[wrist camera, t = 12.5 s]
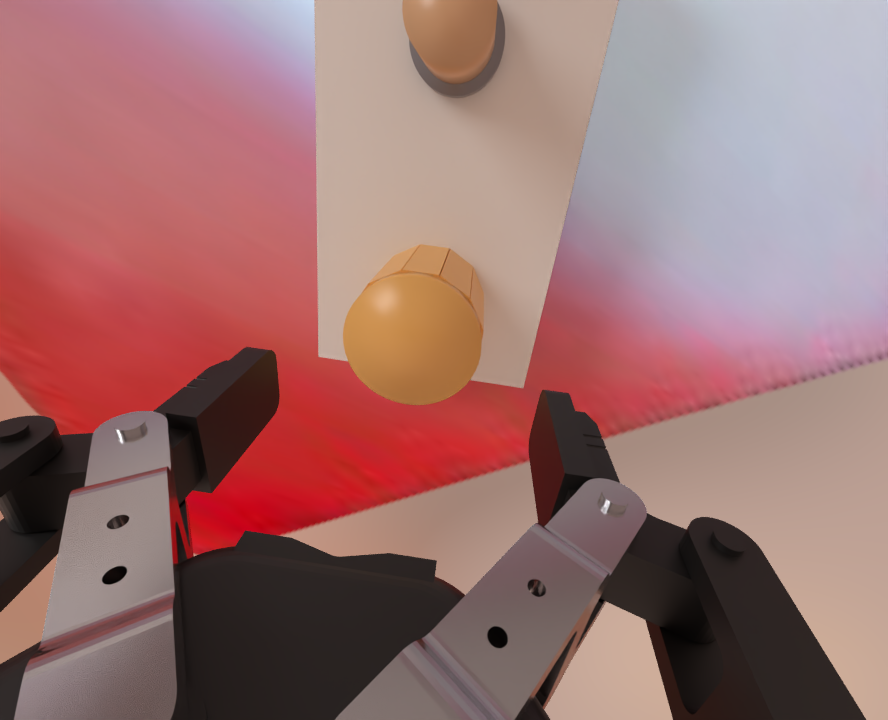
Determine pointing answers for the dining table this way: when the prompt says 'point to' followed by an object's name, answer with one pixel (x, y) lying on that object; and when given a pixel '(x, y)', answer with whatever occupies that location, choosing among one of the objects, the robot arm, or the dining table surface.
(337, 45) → the plate with orange knobs
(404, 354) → the cap
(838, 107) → the dining table surface
